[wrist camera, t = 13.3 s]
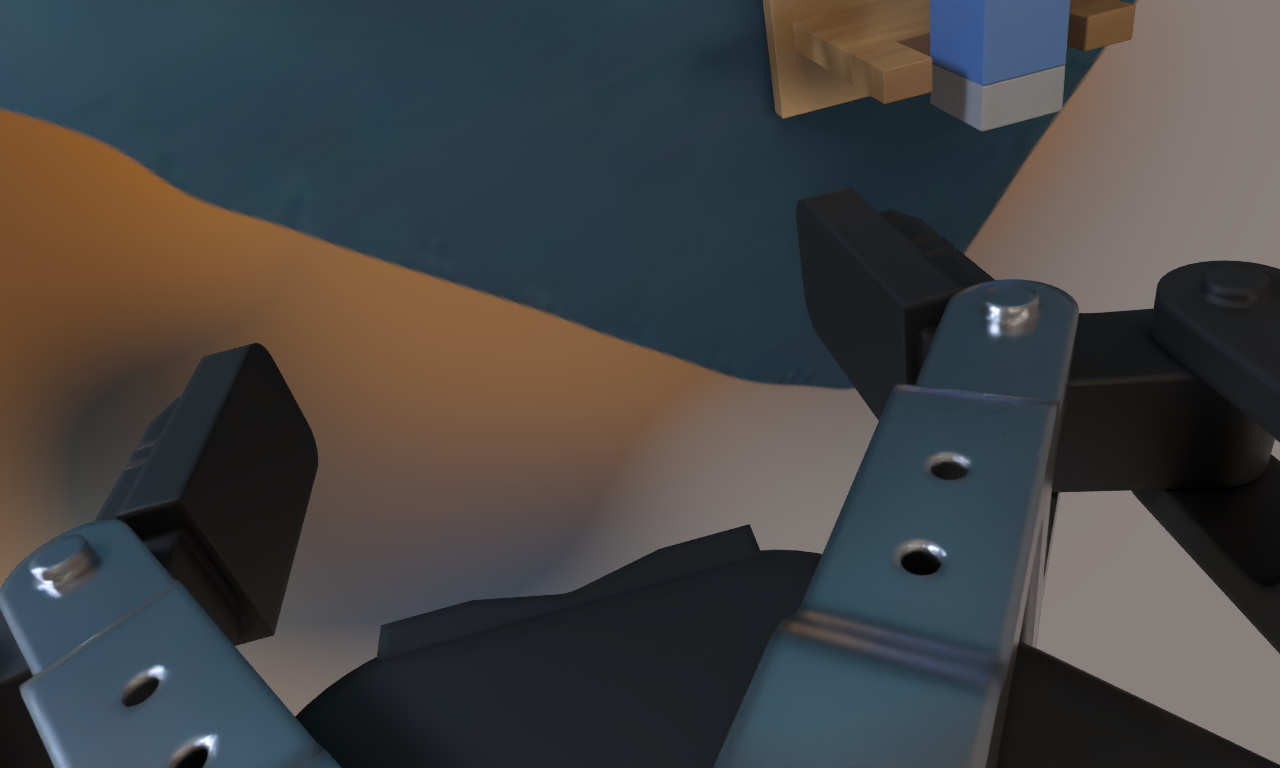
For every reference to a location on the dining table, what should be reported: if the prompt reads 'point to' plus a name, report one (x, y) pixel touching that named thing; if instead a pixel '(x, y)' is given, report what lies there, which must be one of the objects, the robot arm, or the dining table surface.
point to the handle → (998, 59)
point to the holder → (884, 47)
